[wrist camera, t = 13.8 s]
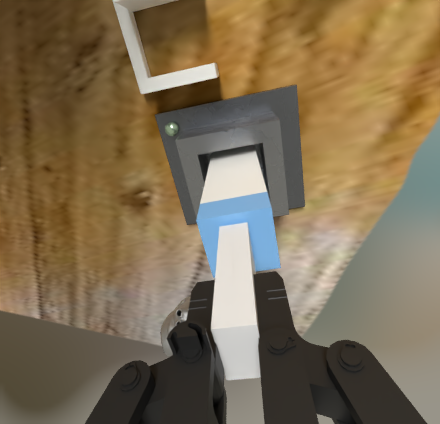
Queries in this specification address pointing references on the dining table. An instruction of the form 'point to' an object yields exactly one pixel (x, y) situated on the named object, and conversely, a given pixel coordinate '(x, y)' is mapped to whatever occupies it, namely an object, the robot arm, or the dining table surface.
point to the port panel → (237, 144)
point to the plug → (237, 205)
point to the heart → (173, 323)
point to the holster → (125, 6)
